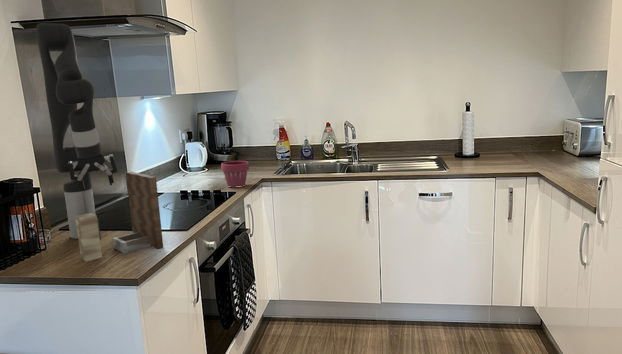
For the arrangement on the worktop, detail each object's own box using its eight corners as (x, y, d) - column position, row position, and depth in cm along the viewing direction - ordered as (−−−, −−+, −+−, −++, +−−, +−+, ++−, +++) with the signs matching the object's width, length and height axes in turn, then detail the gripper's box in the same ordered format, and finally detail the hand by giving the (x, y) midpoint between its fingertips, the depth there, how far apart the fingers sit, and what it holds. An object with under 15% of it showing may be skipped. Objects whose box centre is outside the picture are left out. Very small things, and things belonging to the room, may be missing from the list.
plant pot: (254, 184, 256) (253, 160, 254) (242, 189, 244) (240, 165, 241) (231, 183, 261) (229, 160, 259) (217, 188, 249) (215, 164, 246)
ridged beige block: (81, 259, 151) (75, 216, 149) (99, 254, 155) (93, 212, 152) (85, 262, 148) (79, 218, 146) (103, 257, 152) (98, 214, 150)
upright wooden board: (107, 245, 164) (98, 176, 159) (138, 237, 172) (131, 171, 167) (130, 256, 151) (122, 182, 147) (163, 247, 159) (155, 176, 154)
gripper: (109, 134, 160) (118, 178, 167) (62, 141, 154) (74, 186, 161) (111, 142, 153) (120, 187, 160) (62, 149, 148) (74, 195, 155)
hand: (97, 186), depth 161 cm, fingers open, 8 cm apart
